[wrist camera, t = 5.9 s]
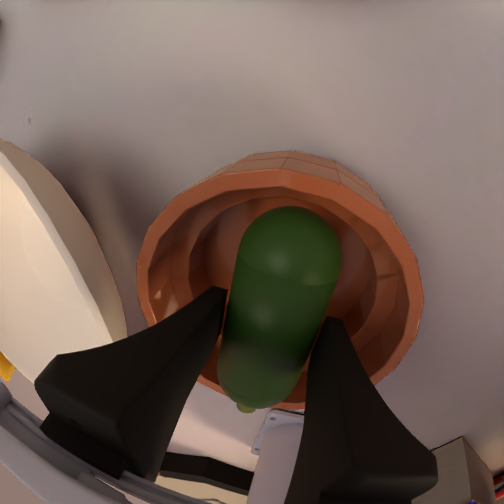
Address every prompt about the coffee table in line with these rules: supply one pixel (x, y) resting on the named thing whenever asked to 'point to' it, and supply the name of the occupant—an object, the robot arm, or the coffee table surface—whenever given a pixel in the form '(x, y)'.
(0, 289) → the bowl
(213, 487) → the wall clock
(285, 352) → the zucchini
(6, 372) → the teapot
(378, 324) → the terracotta bowl
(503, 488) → the pencil case
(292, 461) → the robot arm
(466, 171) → the coffee table surface
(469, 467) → the house
